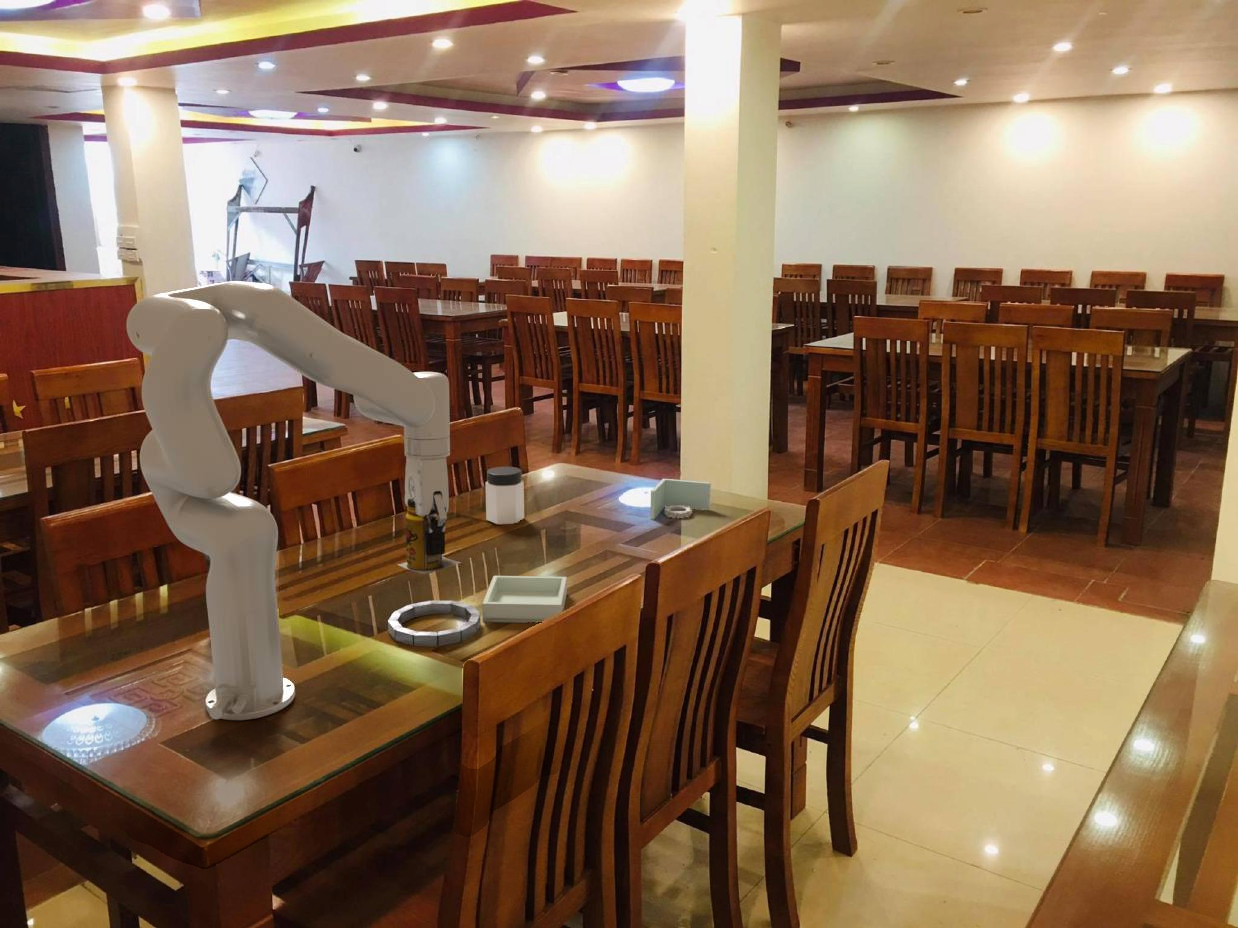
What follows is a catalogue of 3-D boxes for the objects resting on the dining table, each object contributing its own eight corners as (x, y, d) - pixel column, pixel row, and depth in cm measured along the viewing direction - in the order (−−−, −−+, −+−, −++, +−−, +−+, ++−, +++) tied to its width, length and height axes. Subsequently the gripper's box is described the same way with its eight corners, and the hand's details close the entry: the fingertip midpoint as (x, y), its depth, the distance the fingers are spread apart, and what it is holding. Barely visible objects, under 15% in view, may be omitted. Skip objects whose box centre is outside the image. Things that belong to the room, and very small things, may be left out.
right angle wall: (650, 521, 240) (650, 490, 239) (662, 507, 252) (663, 478, 250) (699, 526, 237) (700, 495, 235) (709, 511, 248) (710, 482, 246)
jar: (498, 512, 244) (497, 464, 242) (528, 516, 242) (528, 467, 239) (481, 522, 236) (479, 473, 233) (512, 526, 234) (511, 476, 231)
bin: (561, 623, 180) (560, 604, 179) (482, 621, 180) (482, 603, 179) (566, 593, 193) (566, 576, 192) (494, 592, 193) (493, 575, 193)
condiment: (396, 565, 173) (394, 498, 170) (435, 554, 179) (434, 489, 176) (422, 575, 168) (421, 506, 166) (461, 564, 174) (461, 497, 172)
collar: (471, 647, 169) (471, 636, 169) (380, 645, 170) (379, 634, 169) (485, 611, 184) (485, 601, 184) (401, 610, 185) (400, 599, 184)
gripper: (390, 438, 174) (392, 537, 178) (421, 458, 160) (423, 566, 164) (432, 435, 178) (433, 532, 182) (466, 454, 163) (467, 560, 167)
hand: (428, 547), depth 173 cm, fingers closed on condiment, 6 cm apart
